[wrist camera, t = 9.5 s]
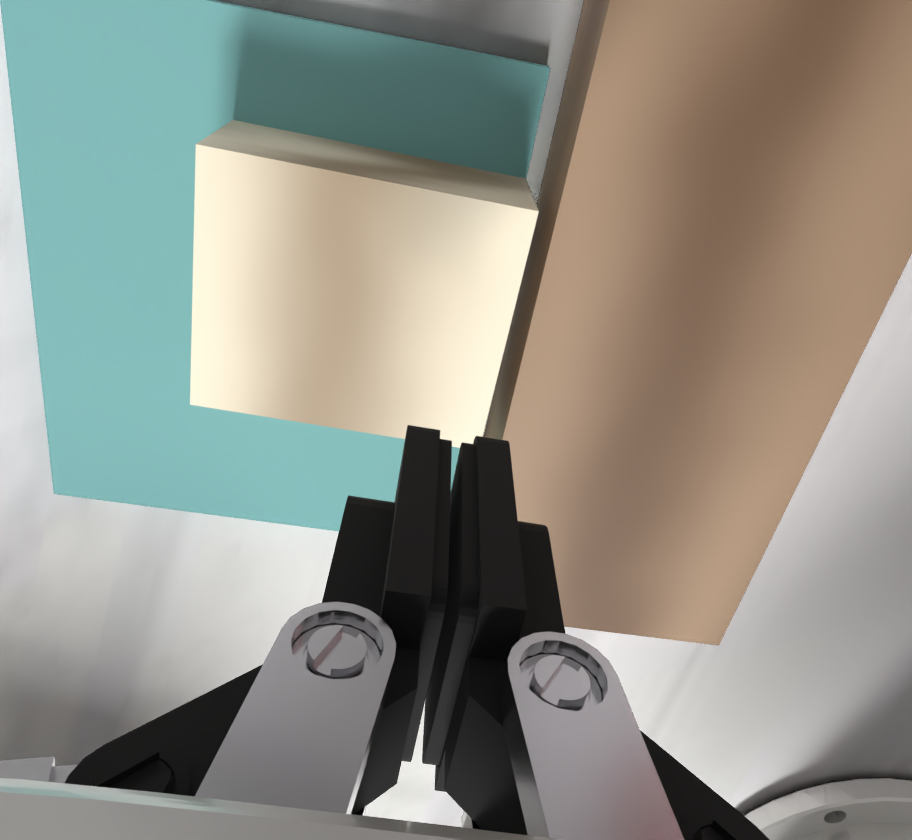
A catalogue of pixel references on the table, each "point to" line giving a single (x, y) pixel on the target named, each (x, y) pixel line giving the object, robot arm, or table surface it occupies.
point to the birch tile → (351, 282)
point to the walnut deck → (700, 290)
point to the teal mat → (172, 226)
